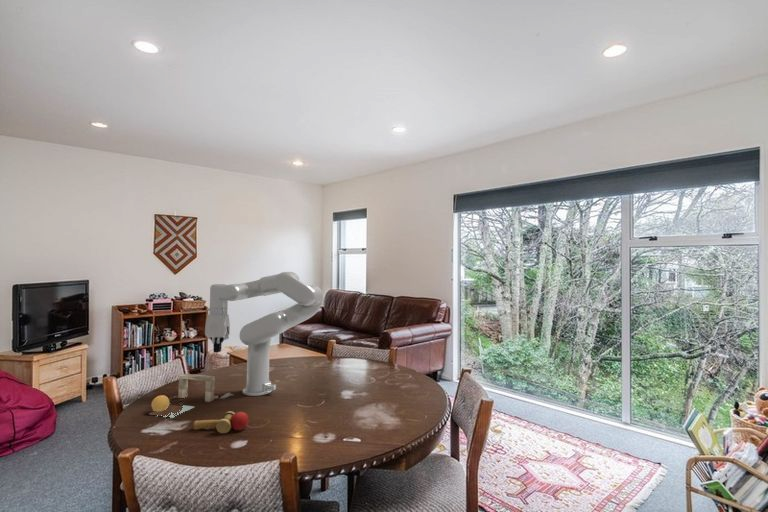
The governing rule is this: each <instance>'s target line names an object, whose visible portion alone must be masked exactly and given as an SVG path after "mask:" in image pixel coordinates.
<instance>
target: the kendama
mask: <svg viewBox="0 0 768 512" xmlns="http://www.w3.org/2000/svg"><path fill="white" fill-rule="evenodd" d="M248 425H249V416H248V414H247V413H245V411H244V412H243V411H238V412H234V411H233V410H232V411H231V410H230V411H229V410H228V411H227V412H225V413H224V414H223V416H222V418H221V419H202V420H195V421H194V422H193V430H202V429H208V428H213V427H214V428H216V431H217V432H218V433H220V434H227V433H229V432H230V430H231V429H232V430H234V431H236V432H237V431H242V430H245V428H247V427H248Z"/></svg>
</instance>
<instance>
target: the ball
mask: <svg viewBox="0 0 768 512" xmlns="http://www.w3.org/2000/svg"><path fill="white" fill-rule="evenodd" d="M150 404H151V409H152V411H156V412H162V411H164V410H166V409H167V408H168V406H169V404H170V399H169V398H168V396H166V395H164V394H163V395H162V394H160V395H157V396H156V397H154V398H153V399H152V400H151V403H150Z"/></svg>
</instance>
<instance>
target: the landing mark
mask: <svg viewBox="0 0 768 512" xmlns="http://www.w3.org/2000/svg"><path fill="white" fill-rule="evenodd" d="M182 405H183V404H182ZM182 407H183V408H182V410H181V411H180V410H179V411H180V412H179V413H180V415H181V413H182V414H183V412H184V413H186V412H187V411H190V410H191V409H194V408H195V406H193V405H186V404H185V405H183V406H182ZM185 411H186V412H185ZM179 413H178V412H177V415H178V416H179ZM169 414H170V413H169ZM169 414H168V415H169ZM173 414H174V413H172V412H171V415H170V416H169V417H170V418H169V419H173V418H176V417H178V416H177V415H175V414H176V413H175V414H174V415H175V416H176V417H175V416H174V415H173ZM168 415H167V416H168ZM161 416H162V415H161ZM167 416H166V415H165V416H163V417H162V418H166V417H167ZM156 417H158V415H157V416H156Z"/></svg>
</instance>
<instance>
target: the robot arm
mask: <svg viewBox="0 0 768 512" xmlns="http://www.w3.org/2000/svg"><path fill="white" fill-rule="evenodd" d="M209 289H210V290H209V308H207V312H209V313H208V314H207V317H206V319H205V326H204V327H205V328H204V336H205V337H206V339H209V340H210V341H211V342H212V344H213V353H214V354H215V353H216V354H218V353H220V352H221V351H222V344H223V342H224V341H226V340H229V338H230V337H229V336H230V334H231V333H230V331H231V324H230V323H231V322H230V321H231V320H230V316H229V314H228V305H229V304H228V302H236V301H242V300H247V299H251V298H256V297H262V296H263V297H267V296H271V295H277V294H281V293H282V294H283V295H285V296H286V297H288V298H290V299H291V300H293V301H295V302H296V303H295V304H293V305H291V306H288V307H286V308H285V309H282V310H280V311H279V310H278V311H275V312H272V313H269V314H266V315H264V316H262V317H260V318H258V319H256V320H252V321H251V322H249V323H246V324H245V325H243V326H242V327H241V329H240V331H239V339H240V342H241V343H242V344H244V345H245V346H248V347H247V352H246V353H247V354H246V355H247V358H246V360H247V361H246V387H244V388H243V389H242V394H243V395H245V396H249V397H252V396H253V397H258V396H264V395H267V394H270V393H271V392H272V391H275V390H277V384H273V383H272V381H271V380H270V355H271V354H270V353H271V352H270V351H271V341H272V338H275V337H277V335H281V334H282V333H285V332H286V331H287V330H290V329H291V328H293V327H295V326H297V325H300V324H301V323H303V322H305V321H307V320H309V319H311V318H312V317H313V316H314V315H316V314H317V312H318V311H319V310H320V309H321V307H322V304H323V301H324V296H323V295H324V294H323V291H322V289H321V288H320V287H318V285H307V284H306V283H304V282H302V281H301V280H300V278H299V275H298V274H296V272H293V271H282V272H280V273H277V274H273V275H267V276H262V277H260V278H259V279H257V280H252V281H248V282H243V283H242V282H241V283H233V284H224V283H214V284H211V285H210V287H209Z"/></svg>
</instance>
